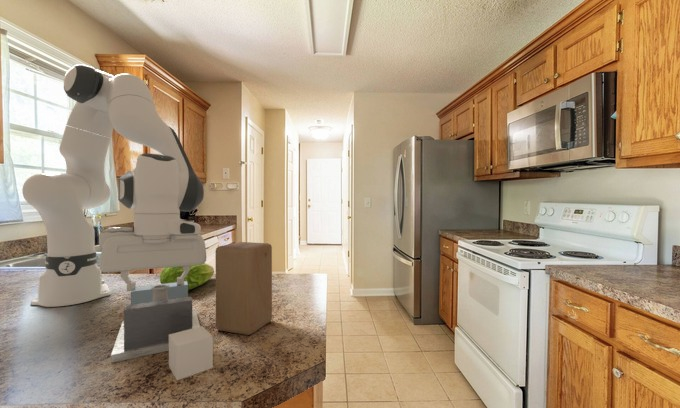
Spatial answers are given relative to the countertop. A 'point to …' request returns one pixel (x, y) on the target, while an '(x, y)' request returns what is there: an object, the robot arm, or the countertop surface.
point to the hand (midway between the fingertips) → (156, 287)
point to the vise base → (152, 327)
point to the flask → (160, 293)
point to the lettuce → (188, 275)
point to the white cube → (190, 352)
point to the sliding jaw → (146, 293)
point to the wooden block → (243, 287)
